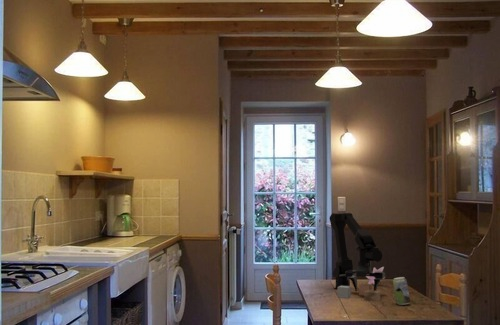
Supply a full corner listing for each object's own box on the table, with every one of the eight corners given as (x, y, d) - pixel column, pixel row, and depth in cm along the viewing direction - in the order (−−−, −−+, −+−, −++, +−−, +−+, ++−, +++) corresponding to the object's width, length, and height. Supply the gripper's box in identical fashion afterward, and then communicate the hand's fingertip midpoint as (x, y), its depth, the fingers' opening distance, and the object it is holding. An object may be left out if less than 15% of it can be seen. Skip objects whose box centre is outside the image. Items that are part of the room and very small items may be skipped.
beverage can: (411, 306, 245) (410, 278, 246) (393, 305, 247) (393, 278, 247) (409, 303, 251) (409, 276, 252) (392, 303, 253) (392, 276, 253)
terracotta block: (359, 295, 274) (358, 284, 274) (362, 293, 279) (361, 283, 279) (369, 296, 272) (368, 285, 272) (372, 294, 276) (371, 284, 276)
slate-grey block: (337, 297, 268) (337, 287, 268) (341, 296, 272) (341, 285, 273) (347, 298, 265) (347, 287, 266) (351, 296, 270) (350, 286, 270)
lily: (364, 285, 312) (359, 271, 309) (383, 276, 313) (378, 262, 310) (374, 295, 300) (369, 280, 297) (393, 286, 302) (389, 271, 299)
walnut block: (364, 300, 260) (364, 292, 260) (367, 298, 265) (367, 290, 266) (377, 301, 257) (377, 292, 258) (380, 299, 263) (380, 290, 263)
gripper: (341, 260, 274) (341, 293, 273) (379, 262, 265) (379, 296, 264) (348, 258, 283) (349, 289, 282) (385, 260, 275) (386, 292, 274)
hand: (365, 292), depth 275 cm, fingers open, 9 cm apart
